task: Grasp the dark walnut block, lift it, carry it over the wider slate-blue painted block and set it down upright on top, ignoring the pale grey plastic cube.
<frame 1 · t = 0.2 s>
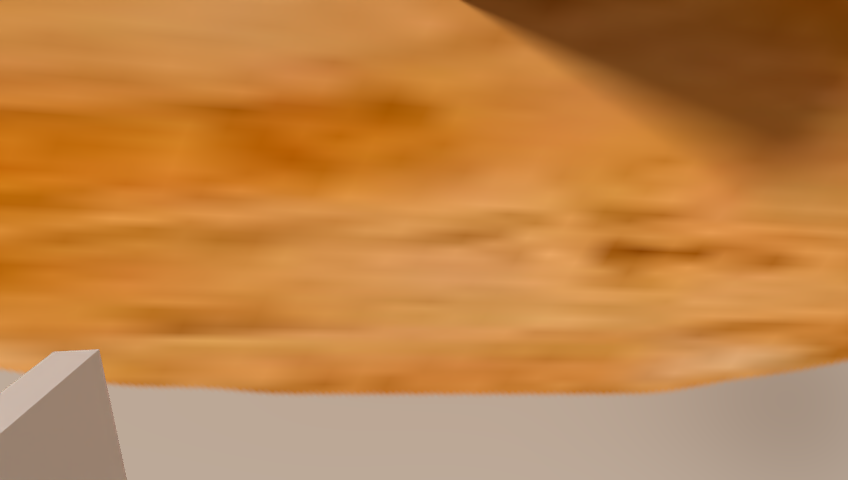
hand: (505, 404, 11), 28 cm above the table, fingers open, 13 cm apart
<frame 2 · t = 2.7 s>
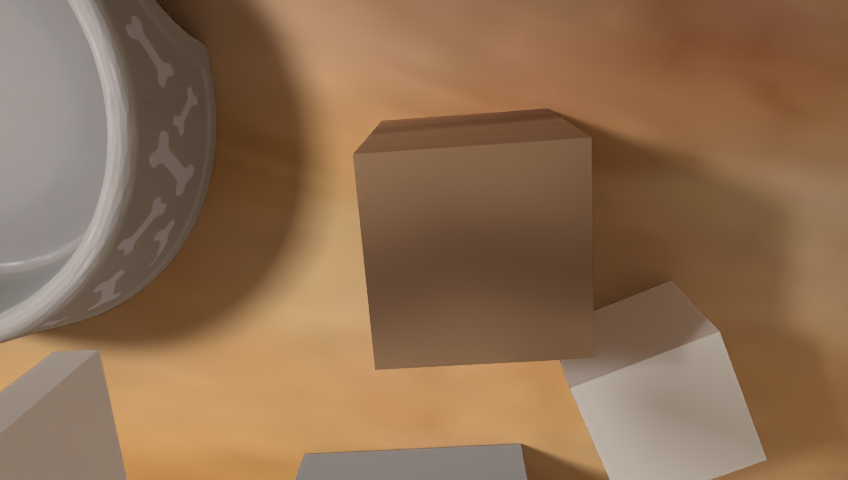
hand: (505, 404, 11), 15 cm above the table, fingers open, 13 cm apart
walnut block: (469, 195, 26), on the table
grey cube: (631, 358, 28), on the table
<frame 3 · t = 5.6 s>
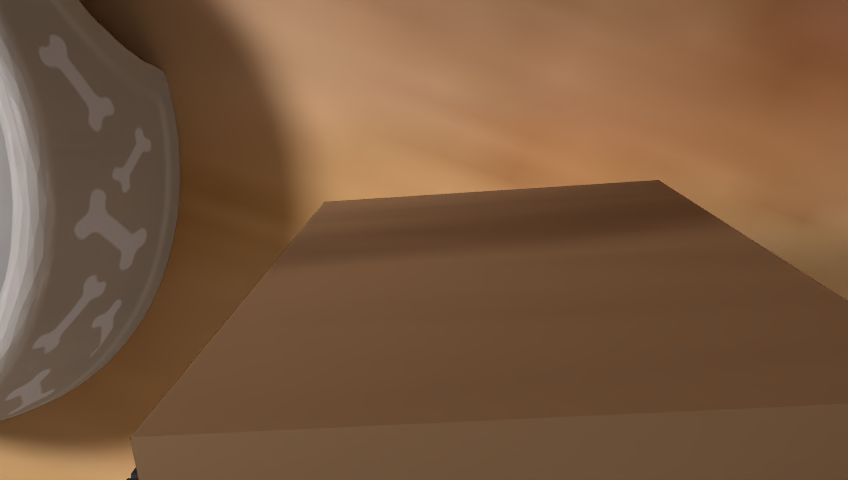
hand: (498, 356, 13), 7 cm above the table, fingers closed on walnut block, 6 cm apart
walnut block: (497, 345, 13), point 7 cm above the table, touching gripper
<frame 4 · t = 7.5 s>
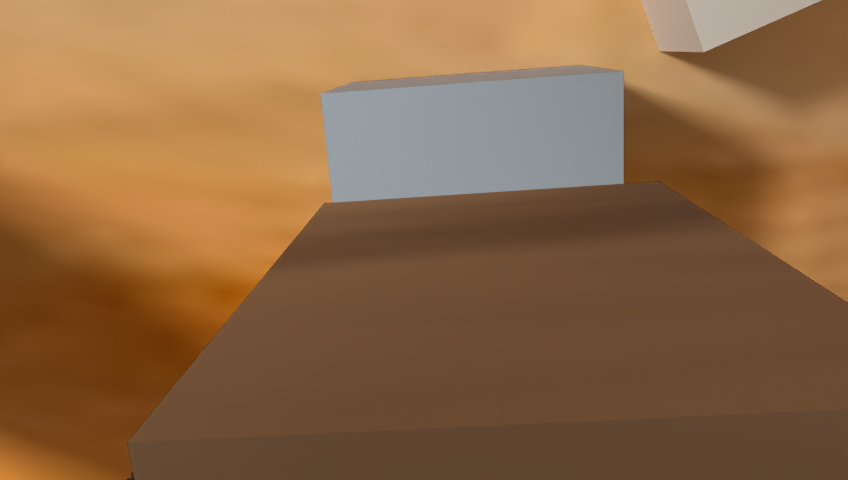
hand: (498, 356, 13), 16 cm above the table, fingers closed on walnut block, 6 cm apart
walnut block: (497, 346, 13), point 16 cm above the table, touching gripper
slate block: (472, 186, 29), on the table
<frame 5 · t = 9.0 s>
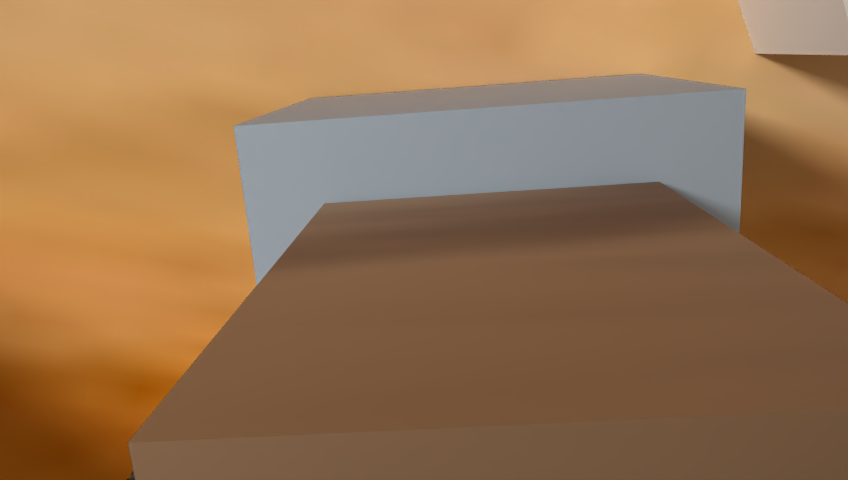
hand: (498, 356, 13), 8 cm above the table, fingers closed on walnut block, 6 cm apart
walnut block: (497, 346, 13), point 7 cm above the table, touching gripper
slate block: (481, 244, 20), on the table
when the fingers open (7 cm above the table, at t = 9.7 s): walnut block stays where it is, resting on slate block.
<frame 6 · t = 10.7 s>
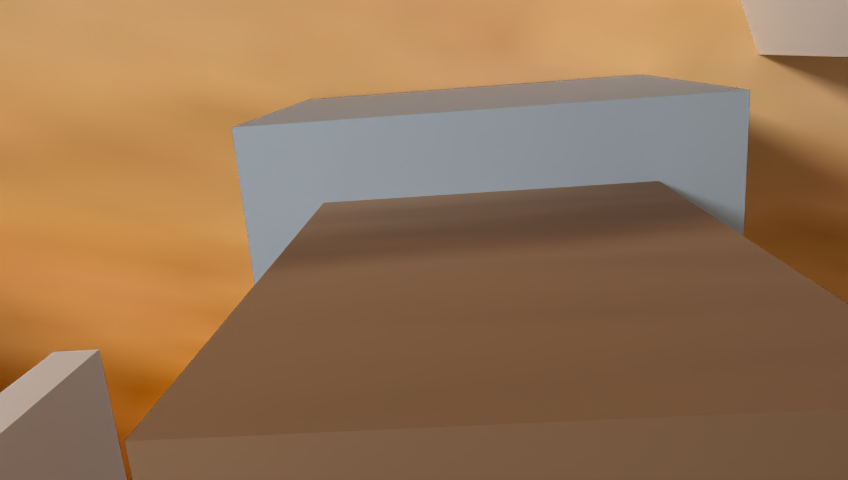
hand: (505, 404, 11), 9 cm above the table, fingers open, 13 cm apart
walnut block: (496, 346, 13), point 7 cm above the table, touching slate block
slate block: (482, 246, 20), on the table
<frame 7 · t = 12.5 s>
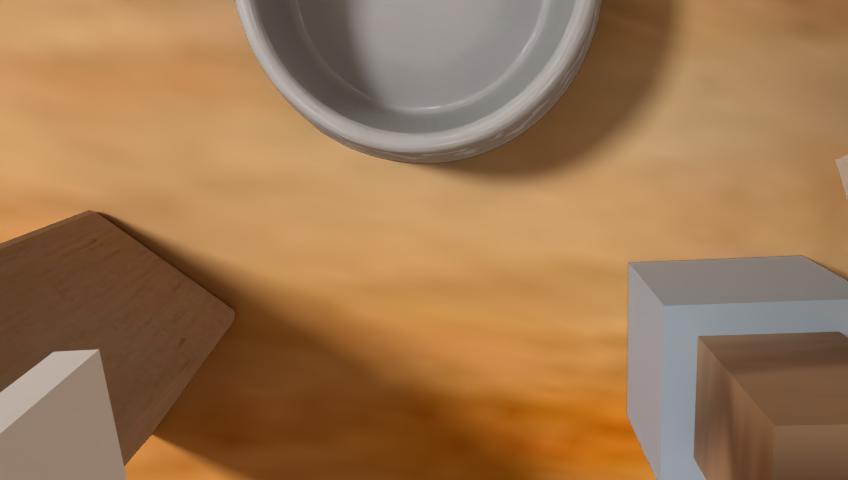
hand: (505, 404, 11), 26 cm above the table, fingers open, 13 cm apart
wooden block: (124, 323, 40), on the table
walnut block: (764, 396, 31), point 7 cm above the table, touching slate block
slate block: (711, 338, 38), on the table
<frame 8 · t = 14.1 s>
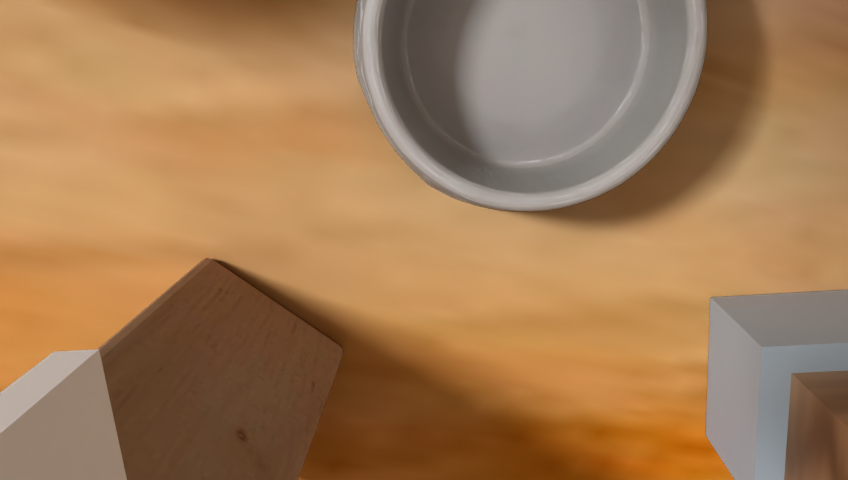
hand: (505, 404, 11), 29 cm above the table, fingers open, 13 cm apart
wooden block: (236, 360, 43), on the table
slate block: (785, 364, 41), on the table
dog bowl: (522, 44, 38), on the table
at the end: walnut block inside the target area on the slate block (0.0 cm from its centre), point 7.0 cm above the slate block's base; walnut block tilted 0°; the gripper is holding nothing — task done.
